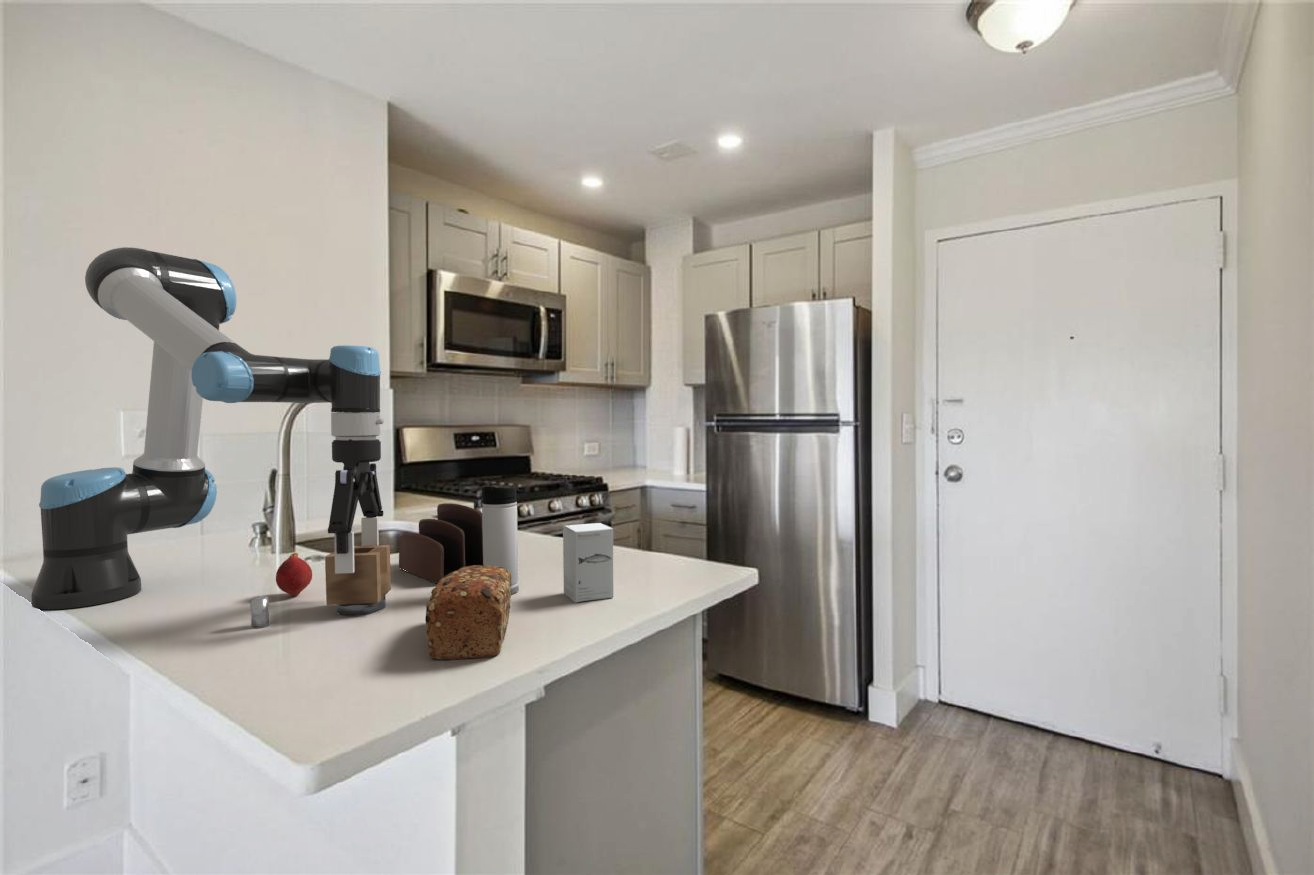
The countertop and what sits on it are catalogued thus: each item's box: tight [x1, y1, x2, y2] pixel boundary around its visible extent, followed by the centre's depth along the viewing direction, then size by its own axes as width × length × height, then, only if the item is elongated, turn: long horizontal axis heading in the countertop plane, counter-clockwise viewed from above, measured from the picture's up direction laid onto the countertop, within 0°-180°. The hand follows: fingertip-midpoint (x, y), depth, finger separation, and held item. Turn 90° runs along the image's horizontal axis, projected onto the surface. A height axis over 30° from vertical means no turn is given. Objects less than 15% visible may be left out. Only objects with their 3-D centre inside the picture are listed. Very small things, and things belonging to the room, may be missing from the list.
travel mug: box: [481, 485, 520, 596], centre depth 119 cm, size 6×7×20 cm
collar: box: [324, 544, 392, 606], centre depth 110 cm, size 8×8×8 cm
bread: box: [424, 565, 512, 661], centre depth 96 cm, size 19×11×10 cm, turn 8°
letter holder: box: [398, 502, 483, 585], centre depth 135 cm, size 10×20×14 cm, turn 45°
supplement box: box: [562, 522, 615, 604], centre depth 116 cm, size 7×7×13 cm
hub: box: [336, 595, 387, 617], centre depth 110 cm, size 8×8×7 cm
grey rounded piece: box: [250, 595, 270, 629], centre depth 102 cm, size 2×2×4 cm
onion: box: [275, 552, 313, 597], centre depth 118 cm, size 6×6×8 cm
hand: (358, 562), depth 110 cm, fingers open, 13 cm apart
